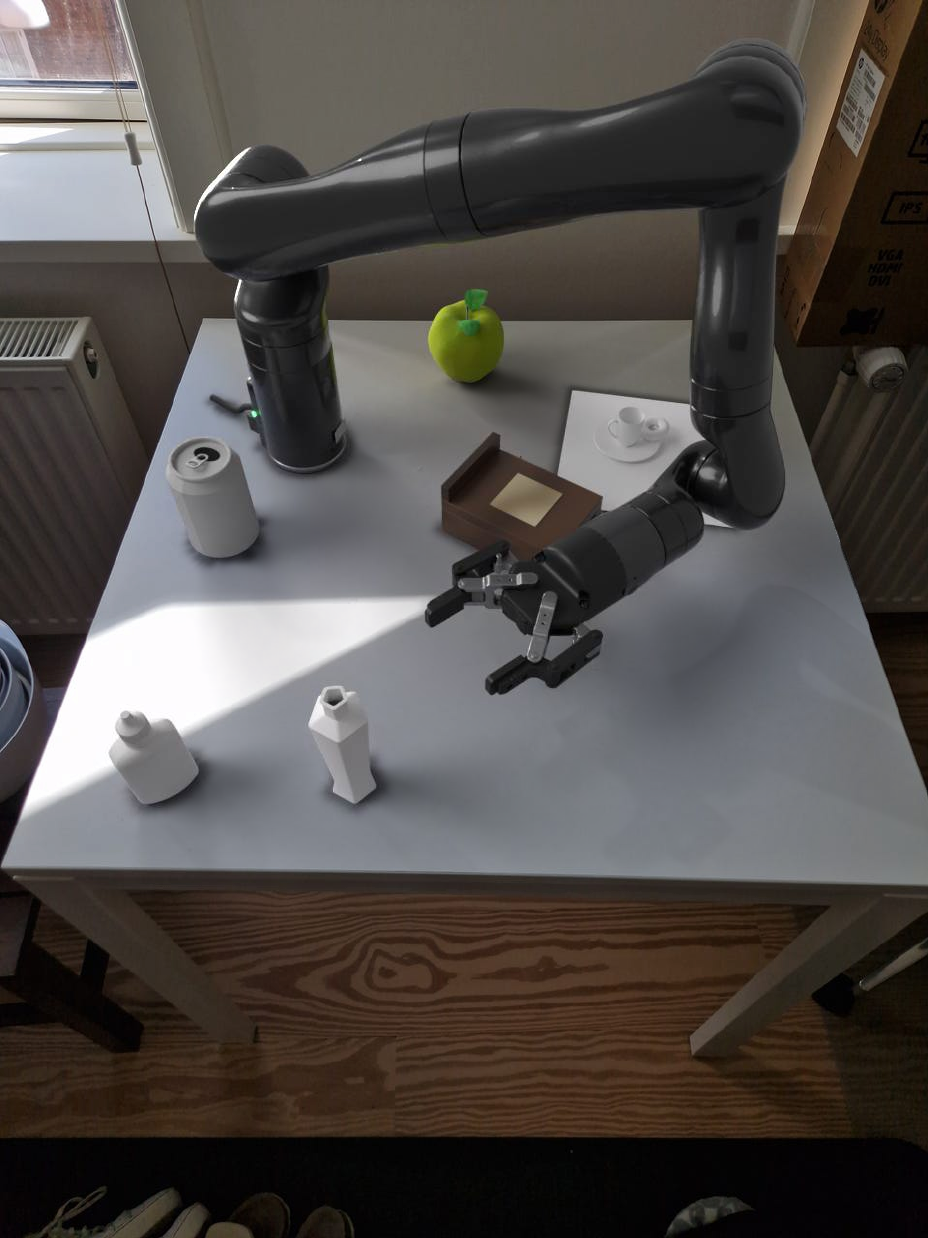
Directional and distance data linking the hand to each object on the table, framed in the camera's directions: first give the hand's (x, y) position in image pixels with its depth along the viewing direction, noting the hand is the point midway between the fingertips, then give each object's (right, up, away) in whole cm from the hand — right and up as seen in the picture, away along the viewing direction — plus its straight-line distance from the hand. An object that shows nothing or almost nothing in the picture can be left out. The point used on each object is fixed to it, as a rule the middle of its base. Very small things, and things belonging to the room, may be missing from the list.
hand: (456, 652), depth 71 cm
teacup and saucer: (+22, +22, +30) cm, 44 cm away
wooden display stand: (+7, +13, +23) cm, 27 cm away
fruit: (+1, +34, +39) cm, 52 cm away
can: (-25, +12, +22) cm, 36 cm away
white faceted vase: (-9, -12, +5) cm, 16 cm away
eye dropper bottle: (-26, -12, +5) cm, 29 cm away
